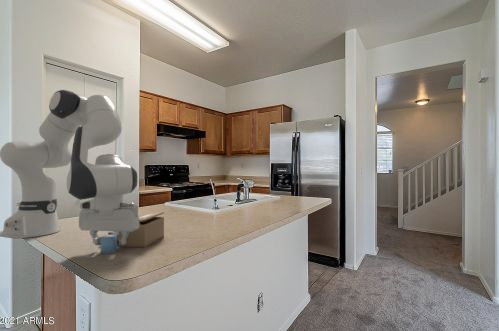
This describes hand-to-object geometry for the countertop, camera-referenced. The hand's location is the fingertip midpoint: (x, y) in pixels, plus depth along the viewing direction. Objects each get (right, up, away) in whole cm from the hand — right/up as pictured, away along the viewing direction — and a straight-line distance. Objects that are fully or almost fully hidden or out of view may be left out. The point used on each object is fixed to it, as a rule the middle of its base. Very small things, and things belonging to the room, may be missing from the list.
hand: (109, 243), depth 84 cm
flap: (+7, +6, +11) cm, 14 cm away
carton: (+6, -3, +11) cm, 13 cm away
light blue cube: (0, -3, 0) cm, 3 cm away
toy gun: (-4, -3, +18) cm, 19 cm away
